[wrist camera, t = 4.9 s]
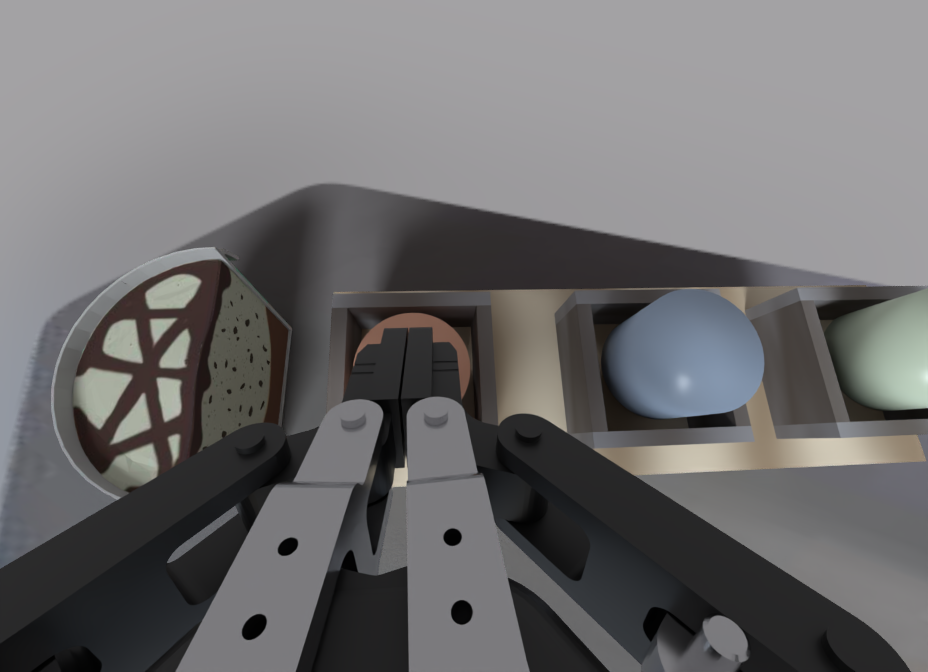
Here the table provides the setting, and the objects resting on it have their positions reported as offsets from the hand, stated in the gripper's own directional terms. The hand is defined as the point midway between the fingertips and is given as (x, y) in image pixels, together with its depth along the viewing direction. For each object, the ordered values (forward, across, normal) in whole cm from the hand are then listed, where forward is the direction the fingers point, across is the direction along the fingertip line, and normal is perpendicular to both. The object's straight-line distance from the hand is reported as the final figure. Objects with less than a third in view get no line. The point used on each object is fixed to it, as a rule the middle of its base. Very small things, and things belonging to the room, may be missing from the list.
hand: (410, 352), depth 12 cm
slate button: (+2, -10, +3) cm, 11 cm away
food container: (+11, +13, +10) cm, 20 cm away
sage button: (+2, -20, +3) cm, 20 cm away
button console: (+10, -10, +10) cm, 18 cm away
